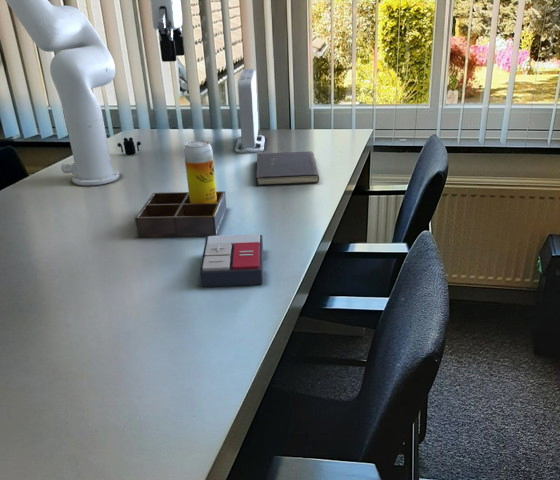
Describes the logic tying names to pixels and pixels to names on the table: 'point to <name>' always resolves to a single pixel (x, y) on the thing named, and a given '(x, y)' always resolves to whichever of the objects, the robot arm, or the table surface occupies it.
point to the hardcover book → (286, 168)
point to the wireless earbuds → (129, 146)
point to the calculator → (232, 260)
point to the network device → (248, 113)
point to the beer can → (200, 172)
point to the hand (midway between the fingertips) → (173, 58)
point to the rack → (180, 216)
